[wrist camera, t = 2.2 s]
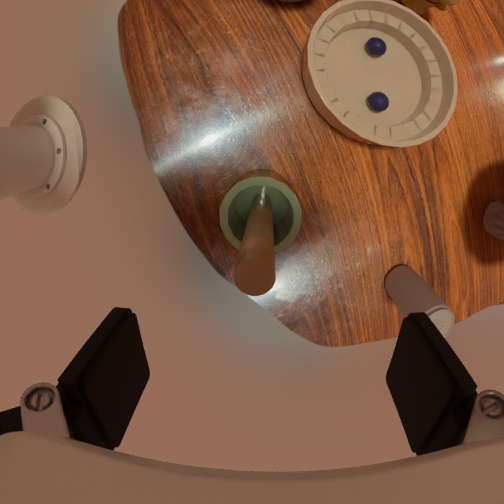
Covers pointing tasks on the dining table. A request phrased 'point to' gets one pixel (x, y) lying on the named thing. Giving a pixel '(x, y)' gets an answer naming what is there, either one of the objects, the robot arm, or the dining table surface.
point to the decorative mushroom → (494, 219)
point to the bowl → (379, 73)
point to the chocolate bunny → (427, 4)
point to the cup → (290, 0)
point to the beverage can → (418, 298)
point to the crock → (240, 202)
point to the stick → (257, 250)
